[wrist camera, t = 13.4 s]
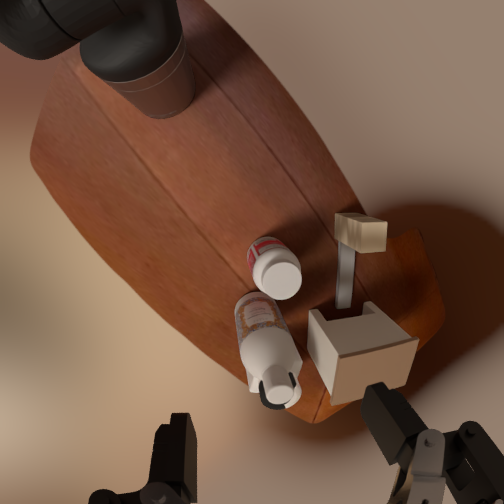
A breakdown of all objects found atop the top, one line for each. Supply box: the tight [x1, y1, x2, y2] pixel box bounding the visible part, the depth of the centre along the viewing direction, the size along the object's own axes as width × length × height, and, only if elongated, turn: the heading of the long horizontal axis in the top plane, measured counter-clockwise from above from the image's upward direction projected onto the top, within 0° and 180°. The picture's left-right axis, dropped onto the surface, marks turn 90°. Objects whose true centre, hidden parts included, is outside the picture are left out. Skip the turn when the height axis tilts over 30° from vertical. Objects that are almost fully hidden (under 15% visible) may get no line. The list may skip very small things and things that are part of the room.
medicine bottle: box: [246, 344, 303, 410], centre depth 42 cm, size 7×7×12 cm
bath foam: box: [235, 292, 295, 404], centre depth 35 cm, size 7×7×20 cm
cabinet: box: [307, 301, 419, 406], centre depth 41 cm, size 9×13×15 cm
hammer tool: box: [335, 213, 387, 309], centre depth 40 cm, size 16×4×9 cm, turn 2°
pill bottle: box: [247, 237, 302, 300], centre depth 37 cm, size 6×6×11 cm
